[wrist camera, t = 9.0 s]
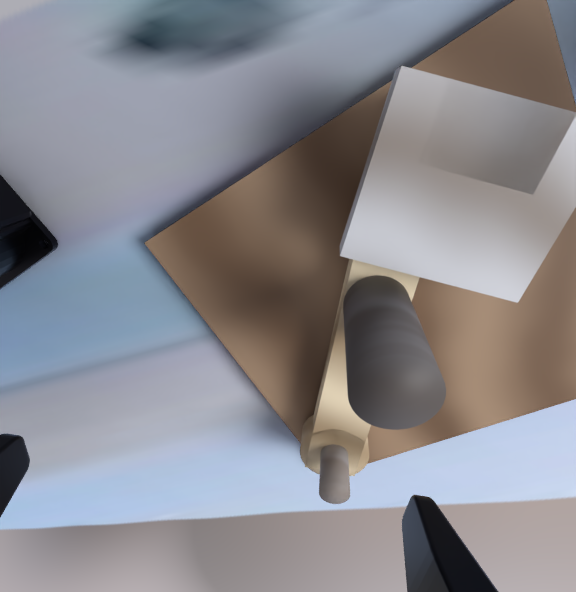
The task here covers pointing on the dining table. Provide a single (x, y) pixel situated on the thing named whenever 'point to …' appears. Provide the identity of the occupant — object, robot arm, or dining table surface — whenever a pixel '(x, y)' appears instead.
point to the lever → (369, 376)
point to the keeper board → (304, 273)
